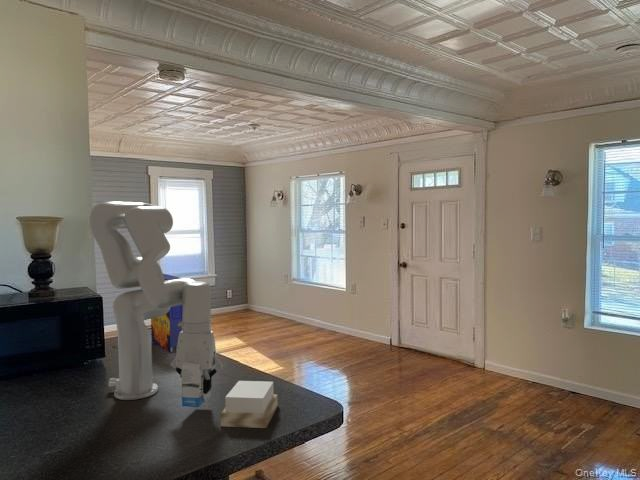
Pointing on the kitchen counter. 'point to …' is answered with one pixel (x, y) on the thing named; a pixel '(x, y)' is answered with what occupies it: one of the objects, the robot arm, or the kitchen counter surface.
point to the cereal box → (167, 326)
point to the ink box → (193, 385)
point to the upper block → (249, 397)
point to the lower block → (250, 417)
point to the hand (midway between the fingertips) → (196, 390)
